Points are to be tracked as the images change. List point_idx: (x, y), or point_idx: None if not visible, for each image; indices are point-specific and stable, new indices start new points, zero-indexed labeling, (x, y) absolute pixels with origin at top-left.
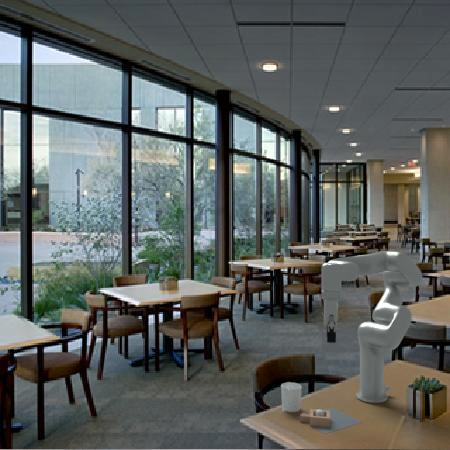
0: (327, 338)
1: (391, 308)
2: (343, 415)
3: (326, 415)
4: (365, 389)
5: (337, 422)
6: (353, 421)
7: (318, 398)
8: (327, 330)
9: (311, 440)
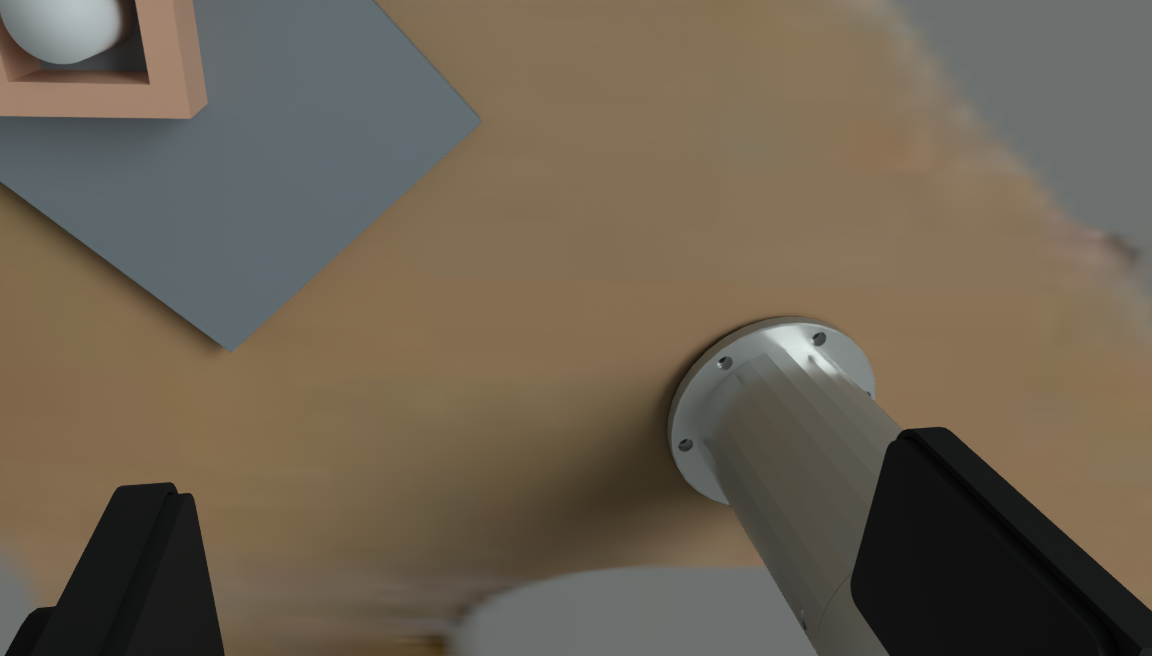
0: (76, 575)
1: None
2: (326, 222)
3: (45, 83)
4: (745, 417)
5: (150, 169)
6: (223, 293)
7: (736, 14)
8: (994, 545)
9: None
